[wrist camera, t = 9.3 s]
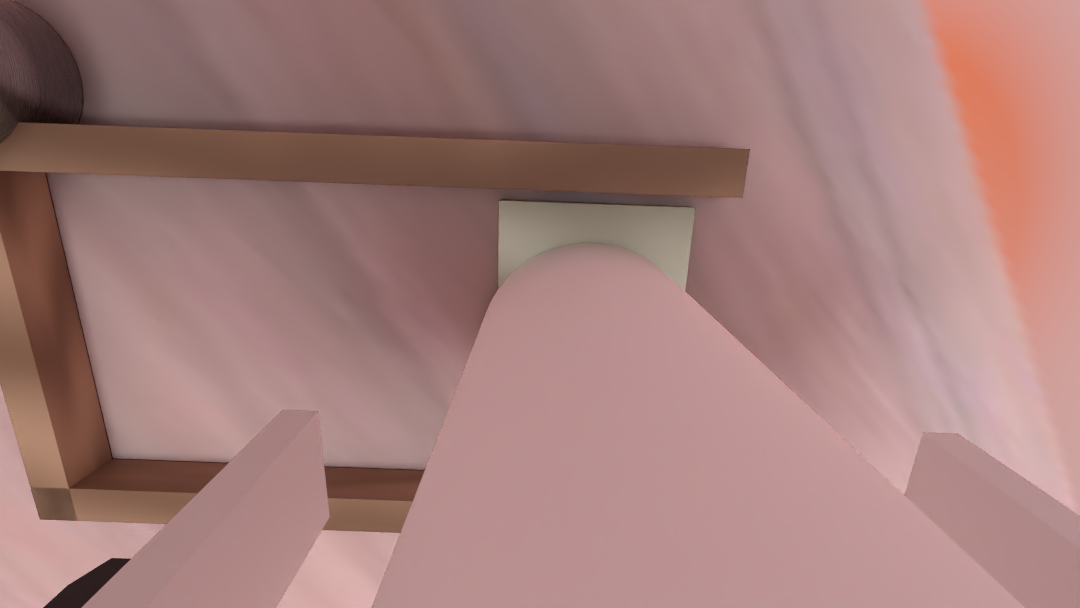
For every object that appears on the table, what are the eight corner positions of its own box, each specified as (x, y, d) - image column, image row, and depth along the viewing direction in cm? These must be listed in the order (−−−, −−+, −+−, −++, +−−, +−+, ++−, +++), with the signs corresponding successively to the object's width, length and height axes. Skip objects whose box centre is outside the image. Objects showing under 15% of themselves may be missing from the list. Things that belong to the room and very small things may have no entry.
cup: (738, 340, 19) (1549, 1096, 4) (590, 477, 21) (721, 1377, 5) (581, 195, 18) (838, 433, 2) (437, 355, 19) (19, 1113, 4)
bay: (-9, 123, 18) (-78, 118, 16) (727, 150, 17) (749, 149, 16) (84, 487, 22) (39, 519, 20) (679, 509, 22) (692, 543, 20)
